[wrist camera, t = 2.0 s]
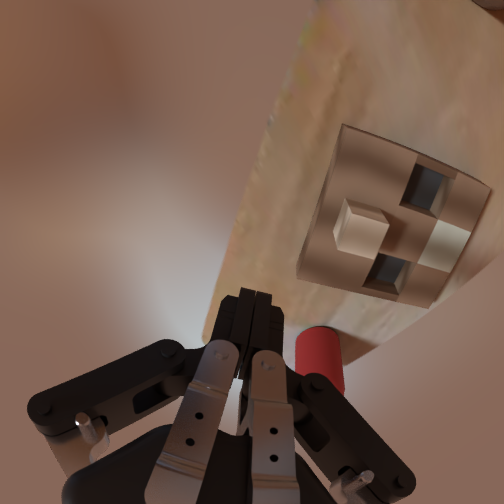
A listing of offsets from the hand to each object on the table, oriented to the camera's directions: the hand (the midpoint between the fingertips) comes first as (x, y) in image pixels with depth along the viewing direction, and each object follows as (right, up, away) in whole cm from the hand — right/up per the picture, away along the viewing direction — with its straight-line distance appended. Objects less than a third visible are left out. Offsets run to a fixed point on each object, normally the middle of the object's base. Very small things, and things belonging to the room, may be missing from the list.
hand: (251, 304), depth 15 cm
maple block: (+11, +6, +17) cm, 21 cm away
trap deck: (+17, +6, +20) cm, 27 cm away
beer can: (+10, -11, +31) cm, 34 cm away
